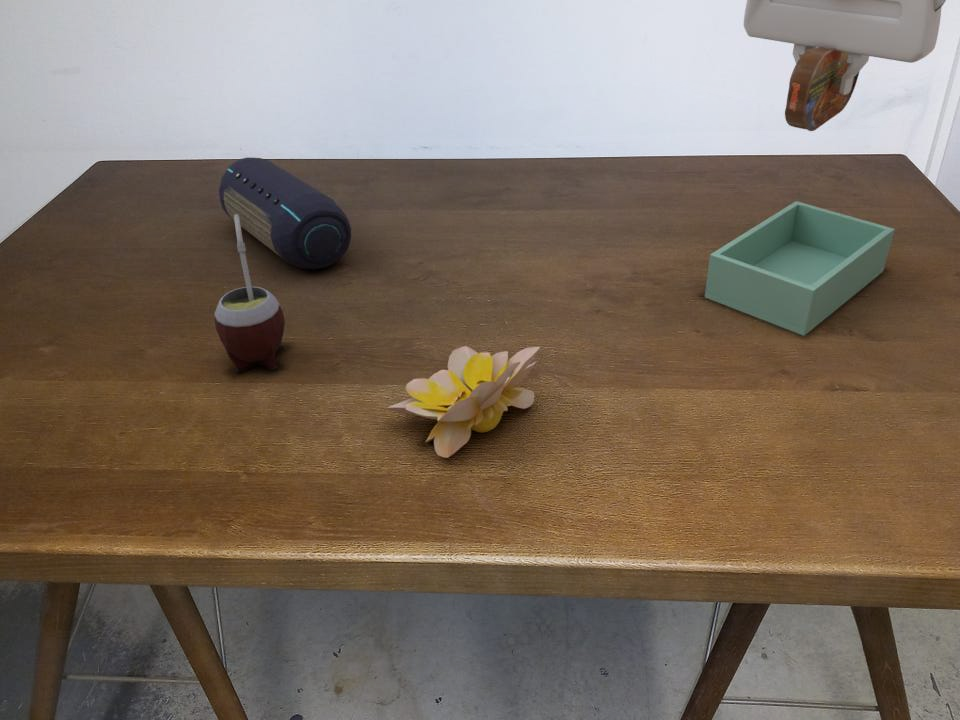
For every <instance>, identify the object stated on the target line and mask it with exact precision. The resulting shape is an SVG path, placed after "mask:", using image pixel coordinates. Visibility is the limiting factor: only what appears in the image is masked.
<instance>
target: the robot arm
mask: <svg viewBox="0 0 960 720" xmlns="http://www.w3.org/2000/svg"><path fill="white" fill-rule="evenodd" d="M946 2H947V0H746V4H745V10H744V15H743V28H744V31H745V33H746V34H747V36H748V37H749V38H755V39H761V40H762V39H763V40H769V41H775V42H781V43H788V44H792V45H793V49H792V57H793V59H794V62H795V65H796V64H797V62H798V60H799V59H800V57H801V56H802V55H803V54H804V53H805V52H806V51H808V50H810V49H812V48H813V47H823V48H830V49H834V48H836V49H835V51H841V52H847V53H849V54H848V59H847V63H850V64H851V63H852V65H851V66H850V67H849V68H848V70H847V71H846V72H845V73H844V74H840V75H838V76H835V77H834V78H833V87H832V88H831V92H832V93H836V94H841V95H846V94H848V93H849V92H850V91H851V88H852V83H853V79H854V76H856V75H857V73H858V72H859V71H861V70H862V69H863V68H864V66H866V64H867V63H868V62H869V60H870V59H869V58H870V57H873V58H878V59H884V60H891V61H898V62H904V63H908V64H909V63H910V64H912V63H916V62H918V61H920V60H923V59H924V58H926V57H927V56H929V55H930V54H931V53H932V52H933V51H934V50H935V47H936V45H937V41H938V37H939V30H940V25H941V17H942V7H943V6H944V4H945V3H946ZM859 73H860V72H859Z"/></svg>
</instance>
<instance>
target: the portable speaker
mask: <svg viewBox="0 0 960 720" xmlns="http://www.w3.org/2000/svg"><path fill="white" fill-rule="evenodd" d="M219 183H220V184H219V187H218V193H219V194H218V195H219V202H220V206H221V207H222V208H221V209H222V210H223V211H224V213H225V214H226V215H227V216H228V217H229V218H230V219H231V220H232V221H234V215H235V214H238V215H239V218H240V225H241V228H242V229H244V230H245V231H246V232H248V233H249V234H250V235H251V236H253V237H254V238H256V240H258V241H259V242H261V243H262V244H263V245H264V246H266V247H267V248H268V249H269V250H271V251H272V252H273V253H275V254H276V255H277V256H279V258H281V259H282V260H284V261H285V262H287V263H288V264H290V265H291V266H292V267H295V268H299V269H302V270H319V269H324V268H328V267H331V266H332V265H334V264H335V263H337V262H338V261H340V259H341V258H343V256H344V255H345V254H346V252H347V251H348V249H349V246H350V244H351V241H352V227H351V224H350V220H349V218H348V216H347V215H346V214H345V212H344V211H343V209H342V208H341V207H340V206H339V205H338V204H337V203H336V201H335V200H334V199H333V198H331V197H329V196H328V195H326V194H325V193H323V192H321V191H320V190H318V189H316V188H315V187H313V186H312V185H310V184H309V183H306V182H305V181H303V180H301V179H300V178H299V177H297V176H295V175H294V174H292V173H290V172H289V171H287V170H286V169H284V168H282V167H280V166H279V165H277V164H276V163H275V162H272V161H270V160H269V159H265V158H262V157H248V156H247V157H243V158H240V159H238V160H236V161H234V162H233V163H232V164H230V165H229V167H227V169H226V171H225V172H224V173H223V175H222V176H221V179H220V182H219Z"/></svg>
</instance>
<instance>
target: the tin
mask: <svg viewBox="0 0 960 720" xmlns="http://www.w3.org/2000/svg"><path fill="white" fill-rule="evenodd" d="M835 49H836V48H834V49H830V48H823V47H813V48H812V49H810V50H808V51H806V52H805V53H804V54H803V55H802V56H801V57H800V59H799V60H798V62H797V64H796V63H795V65H794V67H793V70H792V73H791V75H790V78H789V84H788V91H787V97H786V105H785V108H784V109H785V110H784V119H785V121H786V123H787V124H788V126H790V127H792V128H797V129H800V130H801V129H803V130H807V131H808V132H814V131H816V130H817V129H819V128H820V127H821V126H823V125H824V124H826V123H827V122H828V121H830V120H831V119H833V118H834V117H836V116H837V115H839V114H840V113H841V112H843V110H844V109H845V108H846V106H847V105H848V103H849V102H850V100H851V98H852V95H853V93H854V90H855V88H856V85H857V82H858V79H859V75H860V71H861V70H860V71H859V72H858V73H857V75H856V76H854V79H853V83H852V88H851V91H850V92H849V93H848V94H846V95H841V94H836V93H832V92H831V88H832V87H833V78H834V77H835V76H838V75H840V74H844V73H845V72H846V71H847V70H848V68H849V67H850V66H851V65H852V63H851V64H850V63H847V59H848V54H849V53H847V52H841V51H835Z"/></svg>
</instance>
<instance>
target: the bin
mask: <svg viewBox="0 0 960 720" xmlns="http://www.w3.org/2000/svg"><path fill="white" fill-rule="evenodd" d="M894 234H895V228H893V227H889V226H886V225H882V224H879V223H875V222H872V221H868V220H866V219H865V220H864V219H861V218H859V217H854V216H851V215H846V214H844V213H840V212H836V211H833V210H830V209H825V208H822V207H819V206H815V205H812V204H808V203H804V202H802V201H797V200H795V201H794V202H792V203H791V204H789V205H787V206H786V207H783V209H781V210H779V211H777V212H776V213H775V214H773V215H771V216H769V217H768V218H766V219H765V220H763V221H761V222H760V223H758V224H757V225H755V226H753V227H752V228H750V229H749V230H747V231H745V232H744V233H743V234H742V233H741V235H739V236H737V237H736V238H734V239H733V240H731V241H729V242H728V243H726V244H724V245H723V246H721V247H720V248H718V249H717V250H715V251H713V252H712V253H710V254H709V259H708V268H707V276H706V282H705V289H704V298H705V299H709V300H711V301H713V302H716V303H719V304H721V305H724V306H726V307H729V308H732V309H734V310H737V311H738V312H742V313H743V314H747V315H750V316H752V317H755V318H758V319H760V320H762V321H765V322H767V323H770V324H773V325H775V326H777V327H780V328H783V329H786V330H788V331H791V332H792V333H796V334H798V335H801V336H806V335H807V334H808V333H809V332H811V331H812V330H813V329H814V328H816V327H817V326H818V325H819V324H821V323H822V322H823V321H824V320H825V319H827V318H828V317H829V316H831V314H833V313H835V311H837V310H838V309H839V308H840V307H841V306H843V305H845V303H846V302H848V301H849V300H850V299H852V298H853V297H854V296H855V295H856V294H858V293H859V292H860V291H861V290H862V289H864V288H865V287H866V286H867V285H869V284H870V283H871V282H872V281H874V280H875V279H876V278H877V277H878V276H880V275H881V274H882V273H884V271H885V267H886V264H887V259H888V256H889V252H890V248H891V245H892V241H893V237H894Z"/></svg>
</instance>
